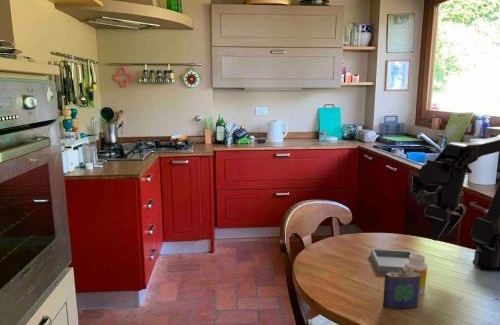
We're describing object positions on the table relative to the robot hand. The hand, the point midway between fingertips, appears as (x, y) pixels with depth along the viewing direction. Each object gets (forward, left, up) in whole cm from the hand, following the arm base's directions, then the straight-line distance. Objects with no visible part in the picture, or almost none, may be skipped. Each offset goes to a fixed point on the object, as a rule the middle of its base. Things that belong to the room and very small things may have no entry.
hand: (439, 238), depth 113 cm
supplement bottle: (+9, +10, -12) cm, 18 cm away
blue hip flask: (+15, +19, -12) cm, 27 cm away
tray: (+10, -6, -12) cm, 17 cm away
